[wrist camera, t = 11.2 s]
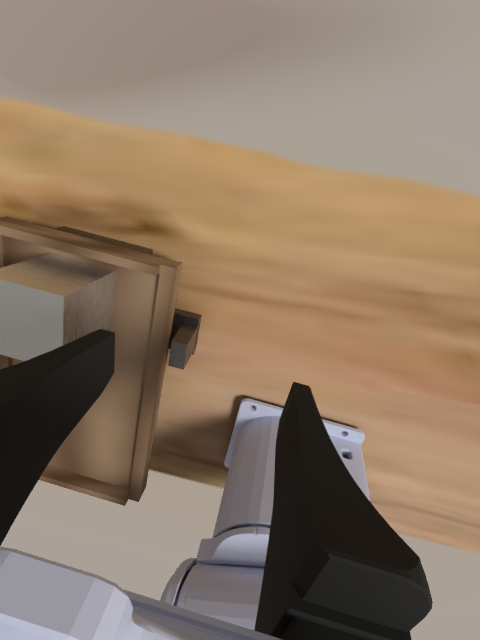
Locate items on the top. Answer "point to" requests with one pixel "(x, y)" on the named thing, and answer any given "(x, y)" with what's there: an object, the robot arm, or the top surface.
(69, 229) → the beam stand
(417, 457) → the top surface
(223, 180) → the top surface
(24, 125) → the top surface
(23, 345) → the block
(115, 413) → the balance beam
